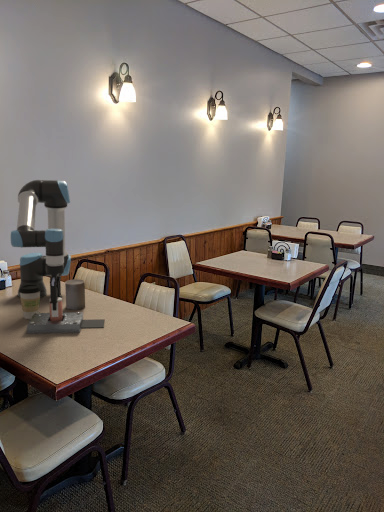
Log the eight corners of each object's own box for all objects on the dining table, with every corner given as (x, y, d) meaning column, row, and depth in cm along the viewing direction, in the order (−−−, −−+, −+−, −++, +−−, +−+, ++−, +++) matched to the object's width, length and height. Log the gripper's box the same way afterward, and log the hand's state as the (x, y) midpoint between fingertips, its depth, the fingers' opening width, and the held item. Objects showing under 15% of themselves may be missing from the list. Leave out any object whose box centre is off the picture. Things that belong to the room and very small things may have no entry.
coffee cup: (34, 321, 191) (33, 290, 188) (15, 319, 193) (14, 288, 190) (45, 314, 200) (44, 285, 197) (27, 312, 202) (26, 283, 199)
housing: (34, 321, 191) (34, 311, 190) (83, 320, 195) (83, 311, 194) (27, 333, 177) (26, 323, 176) (79, 332, 180) (79, 322, 179)
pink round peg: (51, 324, 188) (50, 297, 185) (63, 324, 189) (63, 297, 186) (49, 328, 183) (48, 300, 180) (61, 328, 184) (61, 300, 181)
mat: (83, 320, 195) (83, 319, 195) (104, 320, 196) (104, 319, 196) (80, 328, 185) (80, 327, 185) (103, 327, 187) (103, 327, 187)
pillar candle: (84, 303, 219) (83, 276, 216) (85, 309, 210) (85, 281, 207) (65, 304, 216) (64, 277, 213) (66, 310, 207) (65, 282, 204)
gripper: (49, 259, 188) (51, 307, 193) (41, 269, 170) (43, 321, 175) (66, 259, 189) (67, 307, 194) (60, 269, 172) (61, 321, 176)
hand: (56, 314), depth 185 cm, fingers closed on pink round peg, 5 cm apart
